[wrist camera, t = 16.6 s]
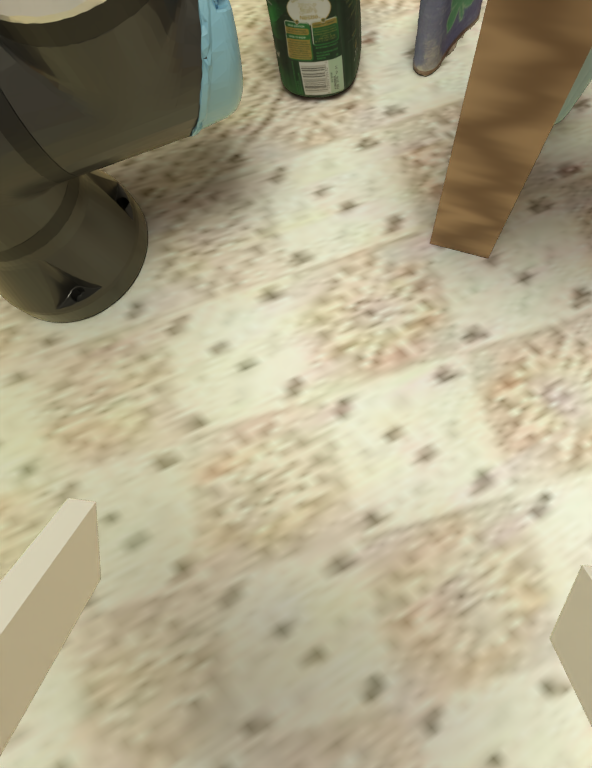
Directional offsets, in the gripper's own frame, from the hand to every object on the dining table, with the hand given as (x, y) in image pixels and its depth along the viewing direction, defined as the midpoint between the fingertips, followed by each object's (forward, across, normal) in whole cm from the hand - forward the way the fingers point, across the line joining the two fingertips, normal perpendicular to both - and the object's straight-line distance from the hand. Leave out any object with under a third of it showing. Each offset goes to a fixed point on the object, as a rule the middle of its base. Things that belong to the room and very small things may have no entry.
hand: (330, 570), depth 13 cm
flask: (+47, +8, +23) cm, 53 cm away
